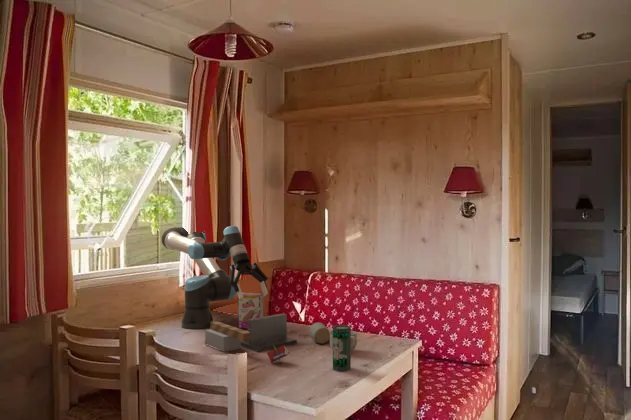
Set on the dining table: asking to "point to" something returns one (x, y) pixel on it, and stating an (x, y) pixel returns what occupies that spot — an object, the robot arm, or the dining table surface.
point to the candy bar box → (249, 308)
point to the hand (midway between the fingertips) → (254, 296)
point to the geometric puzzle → (277, 353)
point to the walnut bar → (230, 331)
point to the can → (341, 348)
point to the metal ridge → (268, 333)
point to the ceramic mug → (319, 333)
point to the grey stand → (221, 340)
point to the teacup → (353, 339)
